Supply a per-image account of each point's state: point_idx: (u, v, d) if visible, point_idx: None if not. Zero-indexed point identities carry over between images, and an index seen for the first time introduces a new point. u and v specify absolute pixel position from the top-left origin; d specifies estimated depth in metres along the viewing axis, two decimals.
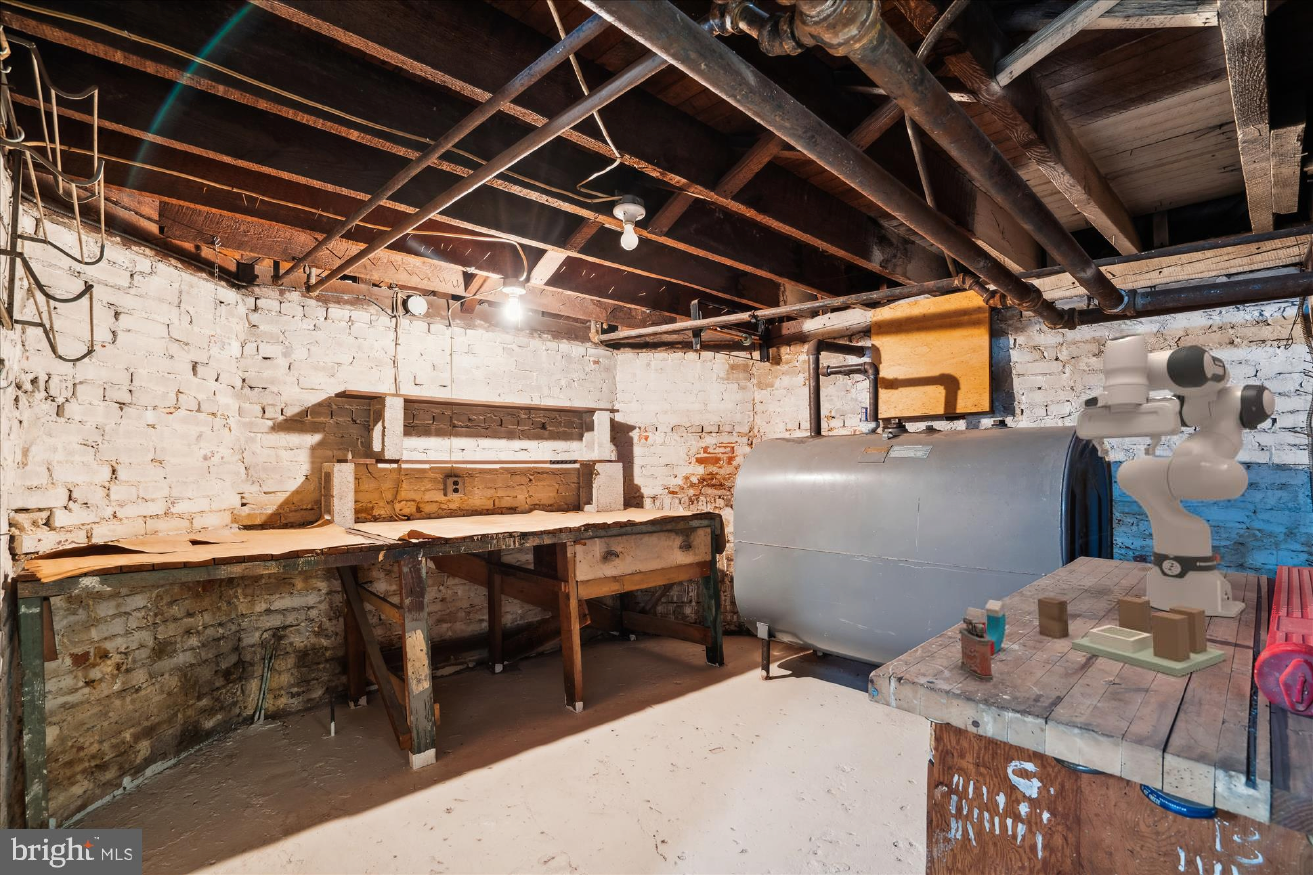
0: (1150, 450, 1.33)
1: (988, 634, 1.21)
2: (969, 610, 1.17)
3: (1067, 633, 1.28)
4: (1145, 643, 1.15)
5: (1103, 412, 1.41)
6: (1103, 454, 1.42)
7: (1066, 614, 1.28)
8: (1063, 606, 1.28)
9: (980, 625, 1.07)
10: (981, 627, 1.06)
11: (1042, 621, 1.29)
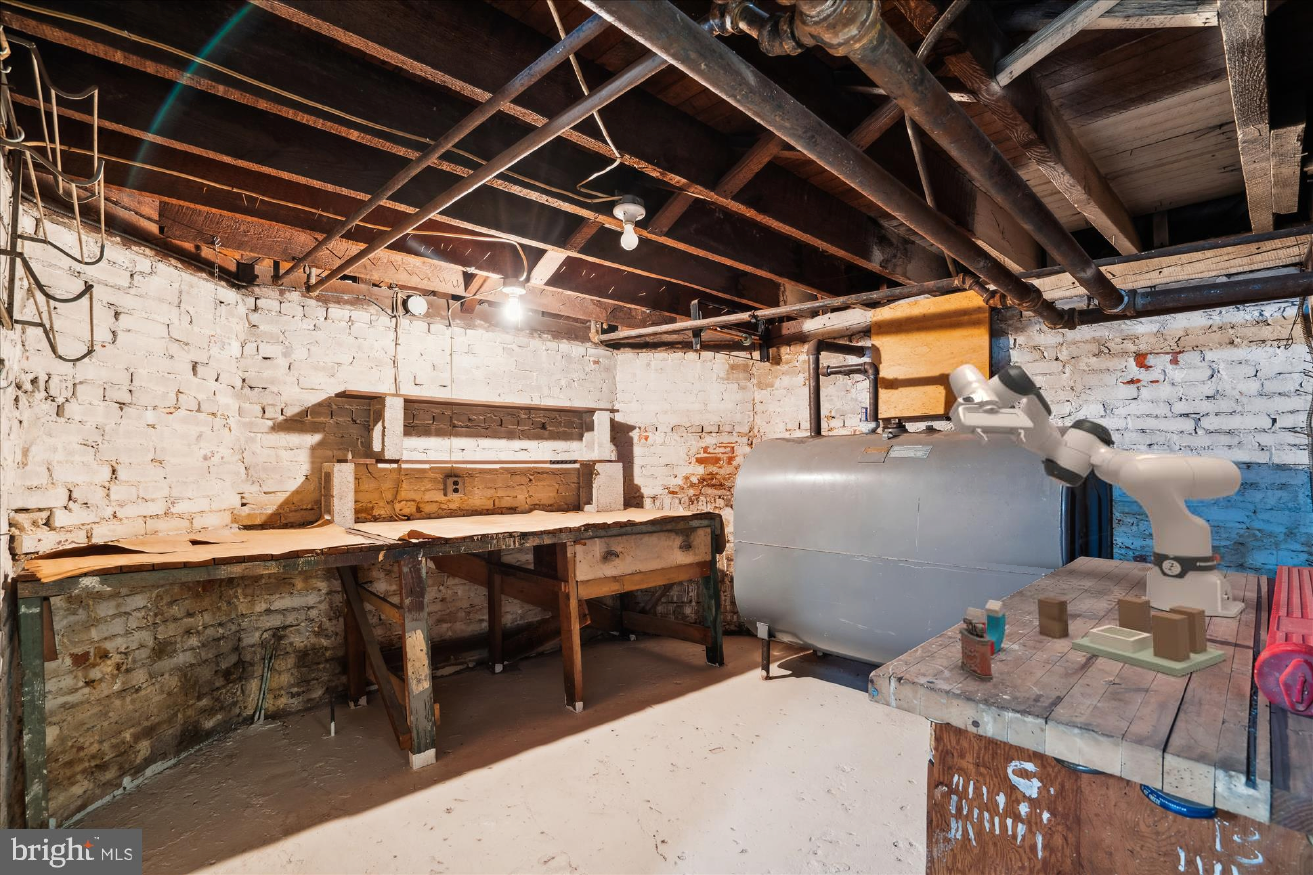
0: (1023, 438, 1.50)
1: (988, 634, 1.21)
2: (969, 610, 1.17)
3: (1067, 633, 1.28)
4: (1145, 643, 1.15)
5: (978, 409, 1.56)
6: (989, 439, 1.49)
7: (1066, 614, 1.28)
8: (1063, 606, 1.28)
9: (980, 625, 1.07)
10: (981, 627, 1.06)
11: (1042, 621, 1.30)
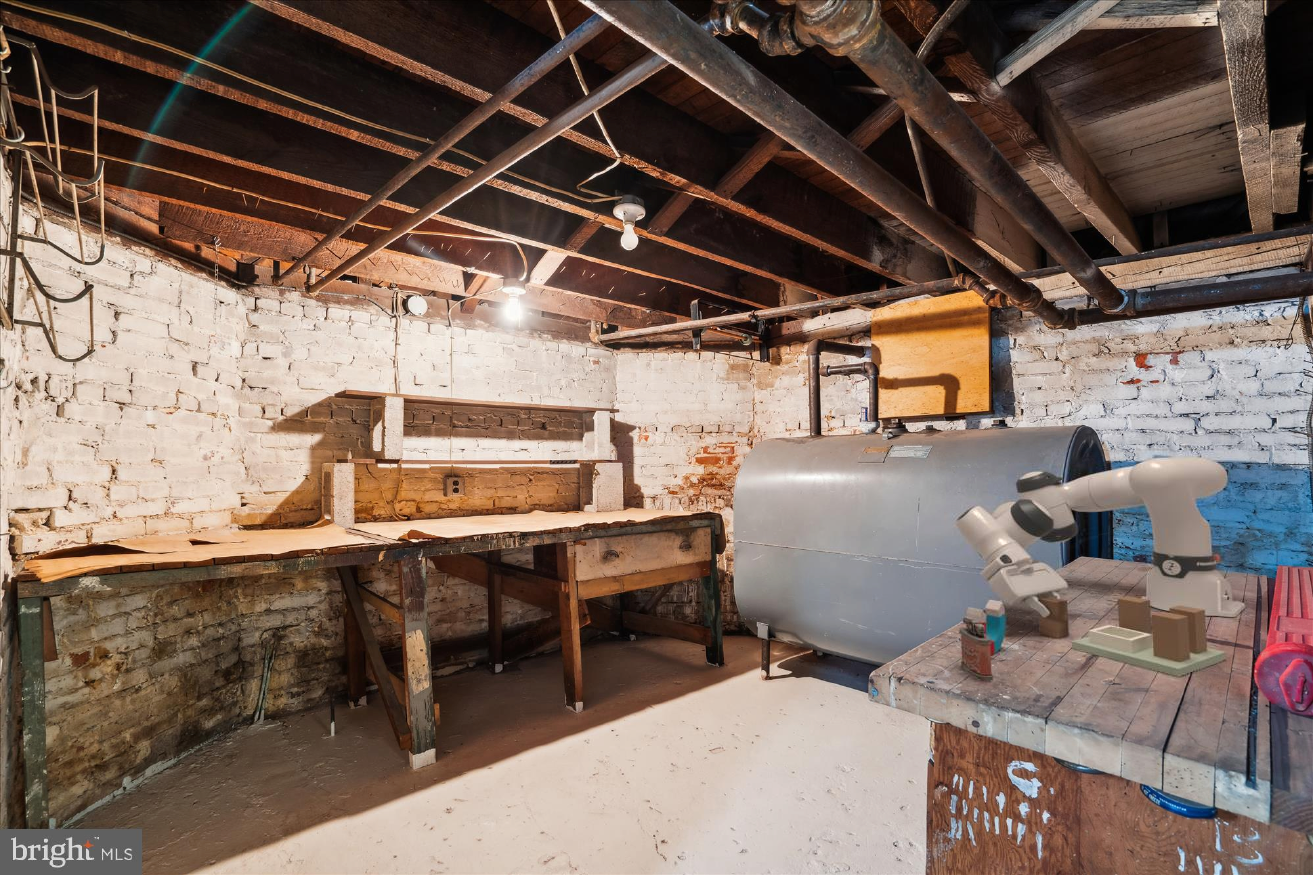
0: None
1: (988, 634, 1.21)
2: (969, 610, 1.17)
3: (1067, 633, 1.28)
4: (1145, 643, 1.15)
5: (1017, 570, 1.33)
6: (1051, 611, 1.28)
7: (1066, 614, 1.28)
8: (1063, 606, 1.28)
9: (980, 625, 1.07)
10: (981, 627, 1.06)
11: (1042, 621, 1.30)
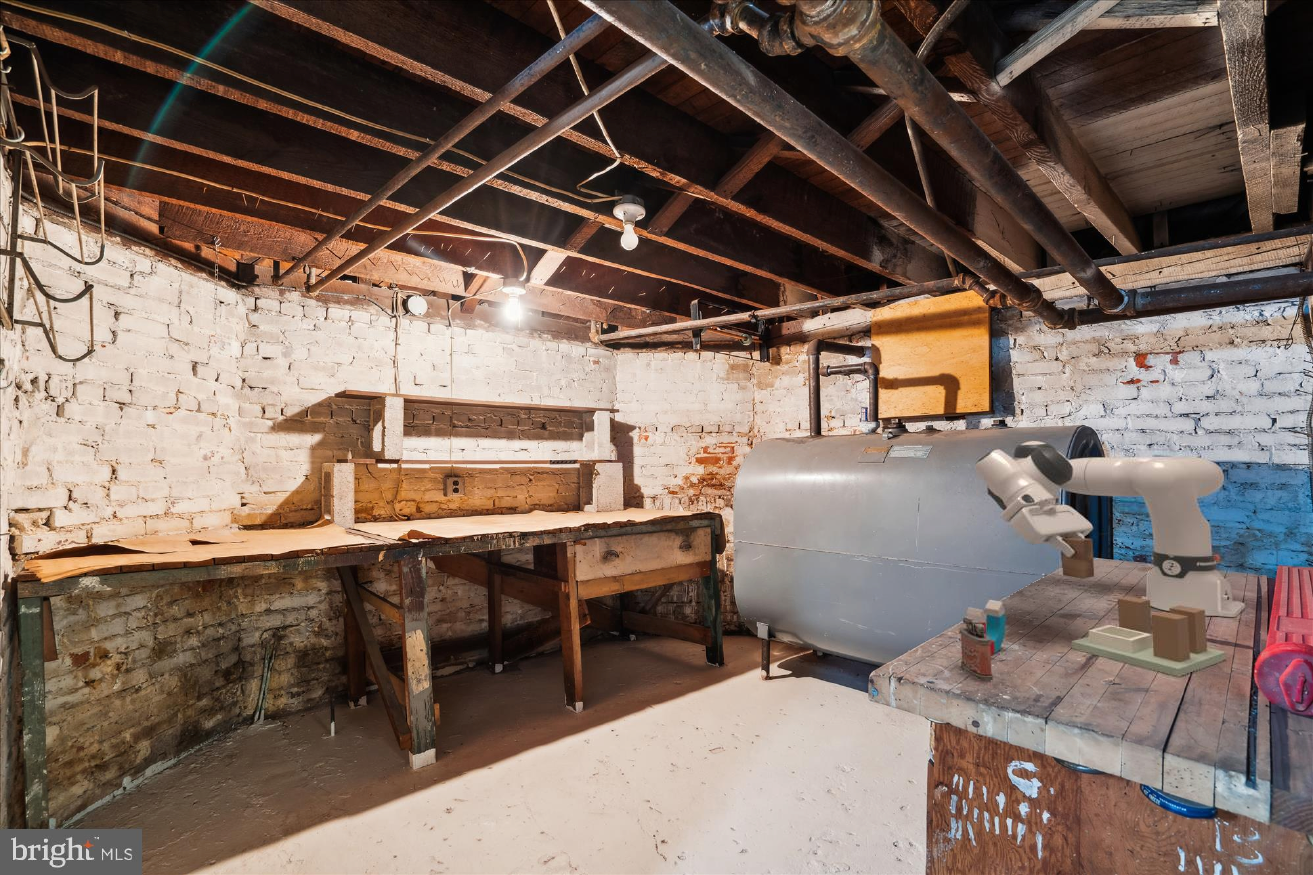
0: None
1: (988, 634, 1.21)
2: (969, 610, 1.17)
3: (1092, 573, 1.23)
4: (1145, 643, 1.15)
5: (1039, 510, 1.28)
6: (1075, 550, 1.22)
7: (1091, 553, 1.23)
8: (1088, 545, 1.23)
9: (980, 625, 1.07)
10: (981, 627, 1.06)
11: (1066, 561, 1.24)
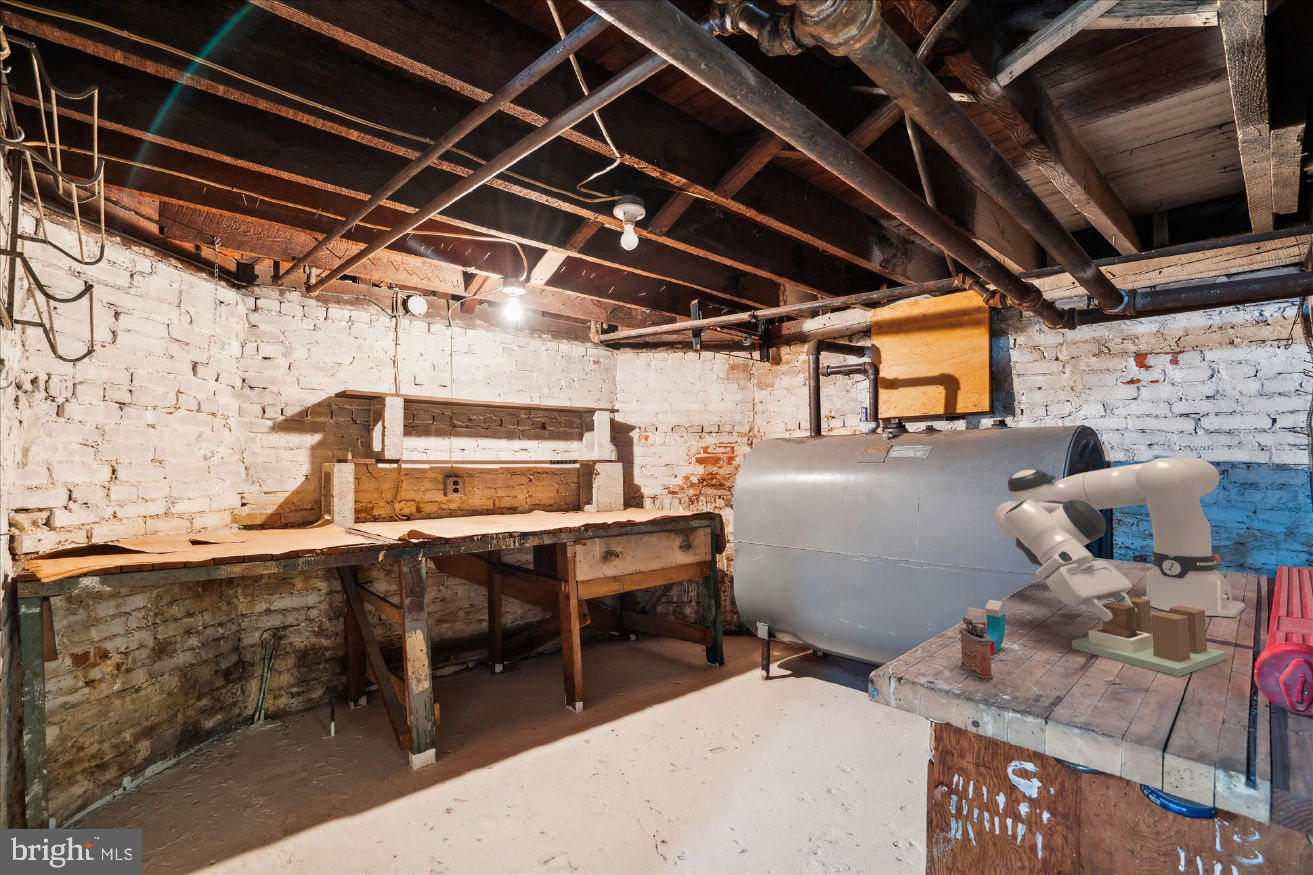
0: None
1: (988, 634, 1.21)
2: (969, 610, 1.17)
3: None
4: (1145, 643, 1.15)
5: (1077, 568, 1.21)
6: (1113, 615, 1.15)
7: (1134, 621, 1.17)
8: (1131, 612, 1.16)
9: (980, 625, 1.07)
10: (981, 627, 1.06)
11: (1107, 629, 1.18)
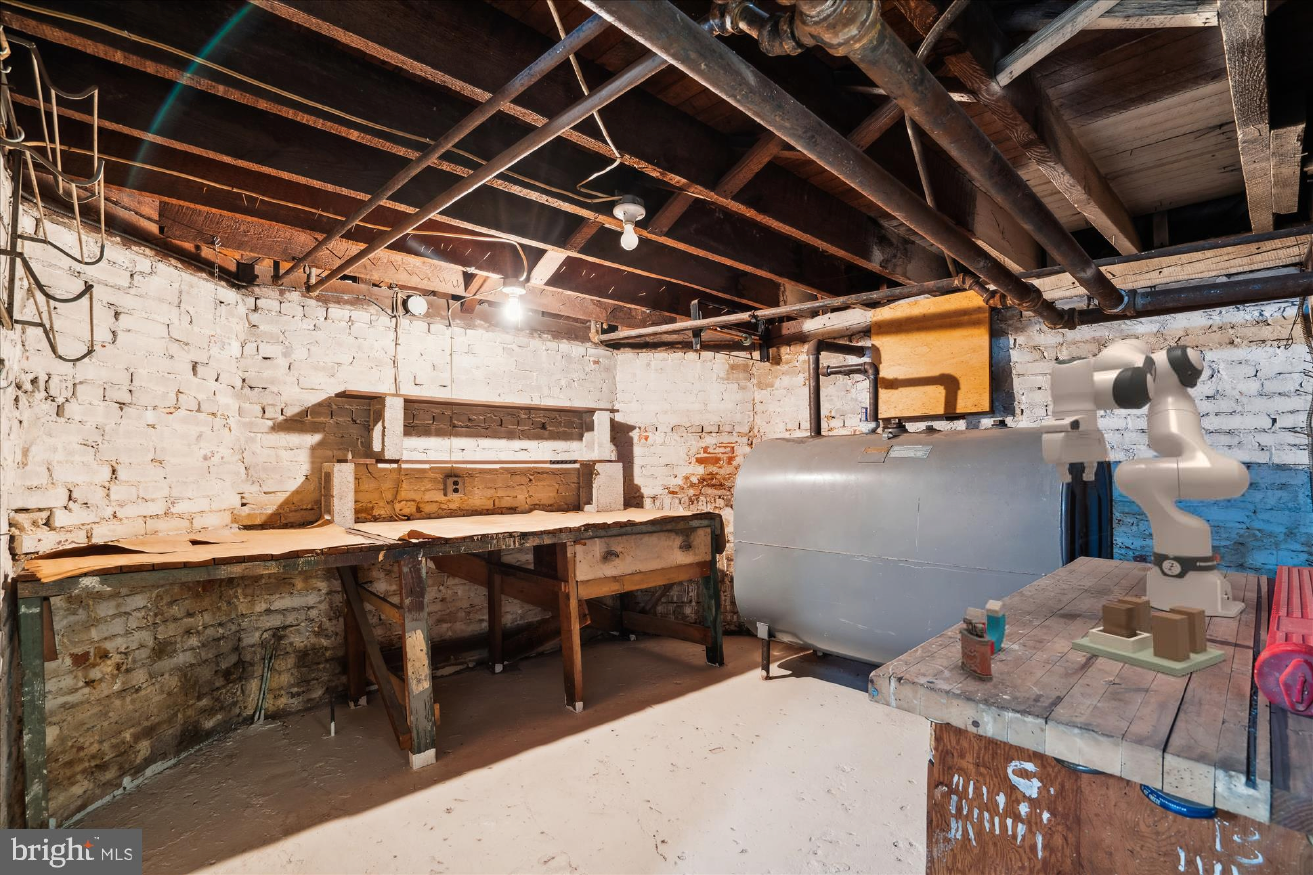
0: (1093, 476, 1.39)
1: (988, 634, 1.21)
2: (969, 610, 1.17)
3: None
4: (1145, 643, 1.15)
5: (1076, 436, 1.34)
6: (1070, 480, 1.35)
7: (1134, 621, 1.17)
8: (1131, 612, 1.16)
9: (980, 625, 1.07)
10: (981, 627, 1.06)
11: (1107, 629, 1.18)
